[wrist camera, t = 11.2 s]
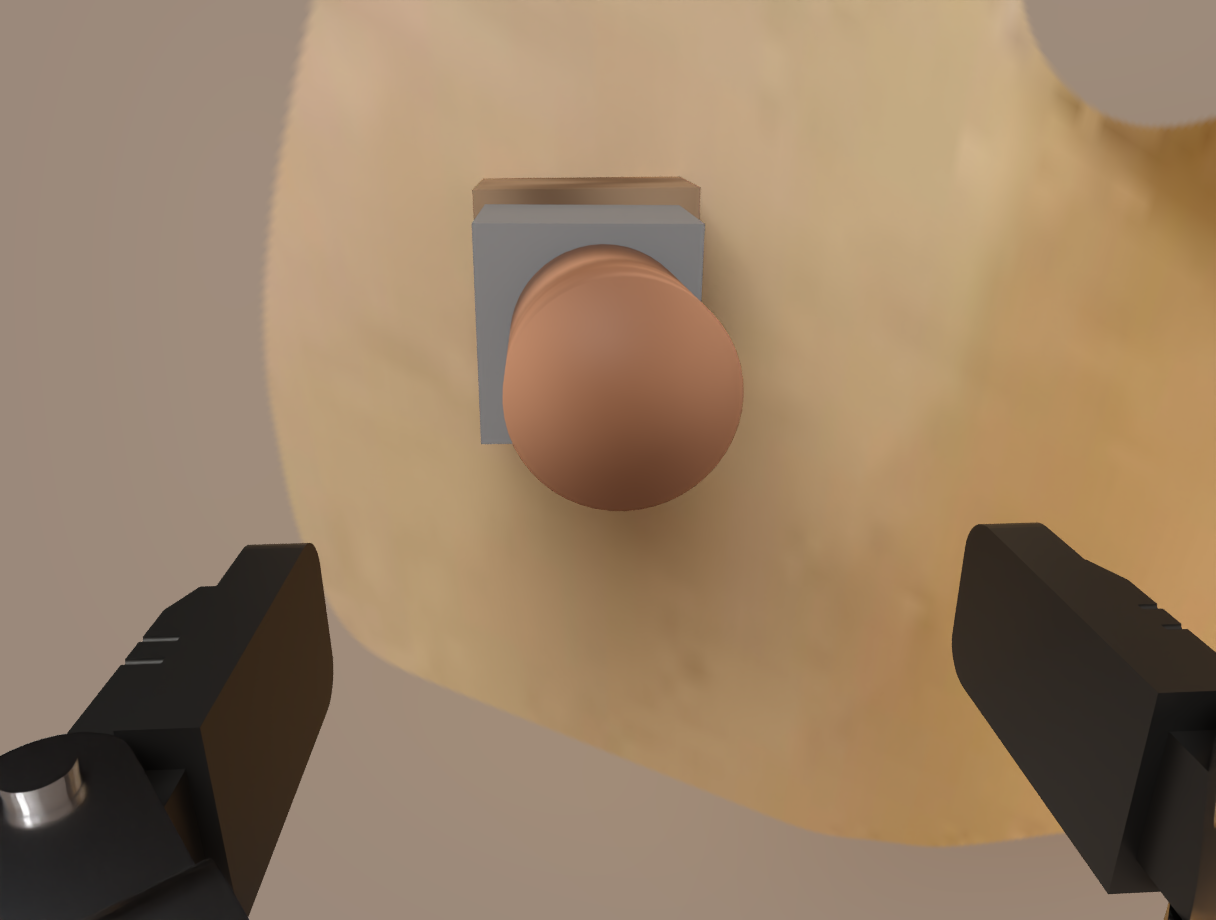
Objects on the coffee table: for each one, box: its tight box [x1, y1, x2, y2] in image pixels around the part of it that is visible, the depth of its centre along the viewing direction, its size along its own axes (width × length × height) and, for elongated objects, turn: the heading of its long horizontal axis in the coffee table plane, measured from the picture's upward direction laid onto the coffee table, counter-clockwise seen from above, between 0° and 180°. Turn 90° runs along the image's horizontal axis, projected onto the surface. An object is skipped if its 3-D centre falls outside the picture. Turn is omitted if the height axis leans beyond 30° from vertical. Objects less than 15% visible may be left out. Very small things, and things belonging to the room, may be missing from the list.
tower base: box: [472, 177, 700, 220], centre depth 32 cm, size 7×7×5 cm
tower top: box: [472, 204, 705, 444], centre depth 27 cm, size 6×6×5 cm
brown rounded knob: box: [503, 244, 744, 511], centre depth 22 cm, size 5×5×6 cm
